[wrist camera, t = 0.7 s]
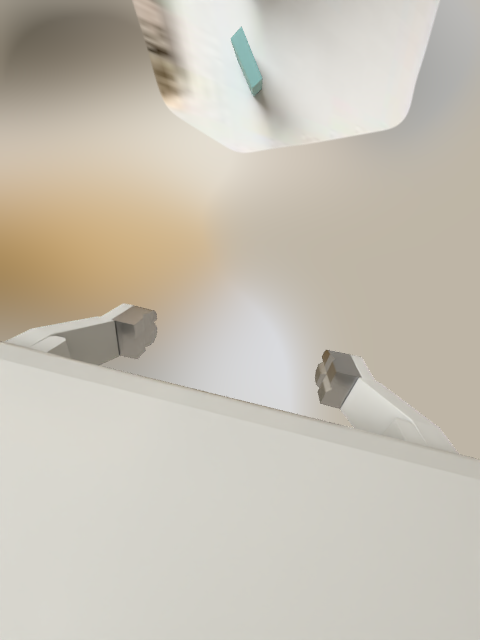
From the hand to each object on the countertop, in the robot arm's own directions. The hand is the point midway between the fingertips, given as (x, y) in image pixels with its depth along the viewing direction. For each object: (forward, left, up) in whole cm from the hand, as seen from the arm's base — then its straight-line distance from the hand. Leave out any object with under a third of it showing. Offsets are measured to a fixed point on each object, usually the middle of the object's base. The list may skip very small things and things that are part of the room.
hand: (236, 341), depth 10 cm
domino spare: (-12, +7, -45) cm, 48 cm away
